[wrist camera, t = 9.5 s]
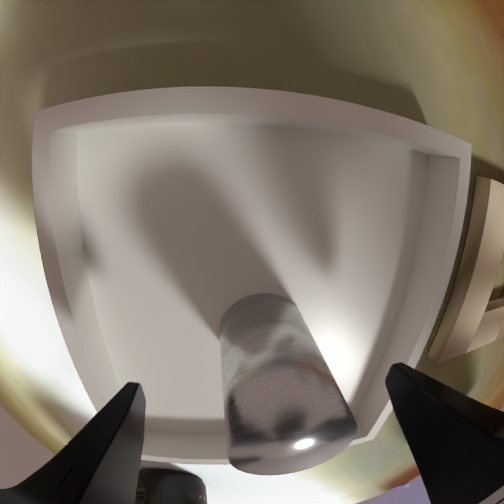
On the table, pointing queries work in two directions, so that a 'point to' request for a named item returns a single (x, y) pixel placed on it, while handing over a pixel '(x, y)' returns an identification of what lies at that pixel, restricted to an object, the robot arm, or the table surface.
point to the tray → (240, 241)
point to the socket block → (475, 280)
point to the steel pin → (278, 390)
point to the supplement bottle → (169, 488)
